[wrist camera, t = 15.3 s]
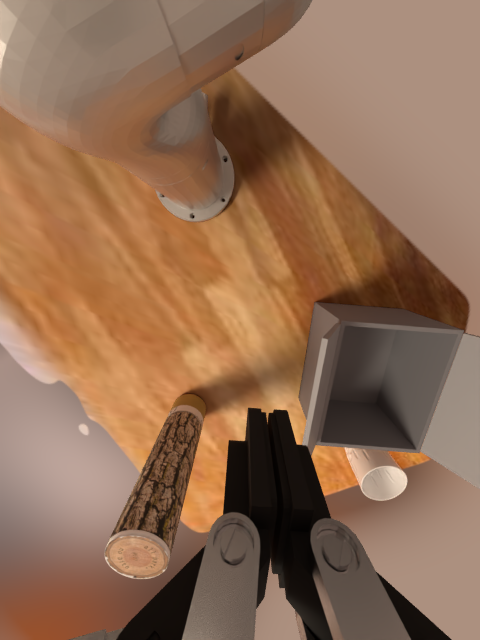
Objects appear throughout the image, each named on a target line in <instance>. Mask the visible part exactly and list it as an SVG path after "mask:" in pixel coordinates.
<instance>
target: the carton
mask: <svg viewBox="0 0 480 640" xmlns="http://www.w3.org/2000/svg"><path fill="white" fill-rule="evenodd" d="M336 323H339V324H341V326H340V331H339V336H338V340H337V345H336V350H335V355H334V360H333V365H332V369H331V374H330V379H329V384H328V389H327V394H326V398H325V403H324V408H323V413H322V418H321V423H320V427H319V432H318V437H317V442H316V445H321V446H334V447H347V448H359V449H372V450H385V451H397V452H410V453H420V450H421V447H422V445H423V442H424V439H425V436H426V434H427V431H428V428H429V425H430V423H431V420H432V417H433V415H434V412H435V409H436V406H437V404H438V401H439V398H440V395H441V393H442V390H443V387H444V384H445V382H446V379H447V376H448V374H449V371H450V368H451V365H452V363H453V360H454V357H455V354H456V352H457V349H458V346H459V344H460V341H461V338H462V335H463V333H464V330H461V329H459V328H456V327H453V326H450V325H447V324H444V323H442V322H439V321H436V320H433V319H430V318H428V317H425V316H422V315H419V314H416V313H413V312H411V311H408V310H405V309H397V308H384V307H372V306H359V305H346V304H334V303H321V302H315V304H314V309H313V315H312V321H311V327H310V333H309V339H308V345H307V351H306V357H305V363H304V369H303V375H302V380H301V386H300V392H299V401H300V404H301V406H302V409H303V412H304V414H305V417H306V420H307V417H308V411H309V406H310V400H311V395H312V390H313V384H314V379H315V374H316V368H317V363H318V357H319V352H320V347H321V341H322V338H323V337H324V335H325V334H326V333H327V332H328V331H329V330H330V329H331V328H332V327H333V326H334V325H335V324H336Z"/></svg>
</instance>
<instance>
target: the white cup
mask: <svg viewBox="0 0 480 640" xmlns="http://www.w3.org/2000/svg"><path fill="white" fill-rule="evenodd" d="M344 449H345V452H346V455H347V458H348V460H349V462H350V465H351V467H352V469H353V472H354V474H355V476H356V478H357V481H358V483H359V485H360V488H361V490H362V492H363V493H364V494H365V495H366V496H367V497H369V498H371V499H374V500H388V499H392V498H394V497H396V496H398V495H399V494H401V493H402V492H403V491H404V489H405V488H406V486H407V476H406V474H405V473H404V471H403V470H402V469H401V468H400V466H399V465H398V464H397V462H396V461H395V460H394V459H393V457H392V456H391V455H390V453H389V452H388V451H385V450H372V449H359V448H347V447H344Z"/></svg>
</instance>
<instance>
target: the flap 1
mask: <svg viewBox="0 0 480 640" xmlns="http://www.w3.org/2000/svg"><path fill="white" fill-rule="evenodd" d="M340 326H341V324H339V323H336V324H335V325H334V326H333V327H332V328H331V329H330V330H329V331H328V332H327V333H326V334H325V335H324V337H323V338H322V341H321V347H320V352H319V357H318V363H317V368H316V374H315V379H314V384H313V390H312V395H311V400H310V406H309V411H308V417H307V422H306V427H305V433H304V438H303V443H302V445H306V446H307V447H308V449H309V452H310V455H312V452H313V450H314V447H315V445H316V442H317V437H318V432H319V427H320V423H321V418H322V413H323V408H324V403H325V398H326V394H327V389H328V384H329V379H330V374H331V369H332V365H333V360H334V355H335V350H336V345H337V340H338V336H339V331H340Z"/></svg>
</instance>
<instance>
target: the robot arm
mask: <svg viewBox="0 0 480 640" xmlns="http://www.w3.org/2000/svg"><path fill="white" fill-rule="evenodd" d="M311 2H312V0H0V106H1V107H2V108H3V109H4V110H6V111H7V112H9V113H10V114H11V115H13V116H14V117H16V118H17V119H19V120H20V121H22V122H23V123H24V124H26V125H27V126H29V127H31V128H32V129H34V130H36V131H37V132H39V133H41V134H42V135H44V136H46V137H48V138H50V139H52V140H54V141H56V142H58V143H60V144H62V145H64V146H67V147H69V148H72V149H74V150H76V151H79V152H82V153H85V154H89V155H92V156H95V157H98V158H102V159H106V160H109V161H113V162H115V163H117V164H119V165H120V166H122V167H124V168H125V169H127V170H128V171H130V172H131V173H133V174H134V175H135V176H137V177H138V178H139V179H141V180H142V181H144V182H145V183H147V184H148V185H149V186H151V187H152V188H154V189H155V191H156V193H157V195H158V198H159V199H160V201H161V202H162V204H163V205H164V207H165V208H166V209H167V210H168V211H169V212H171V213H172V214H174V215H175V216H176V217H178V218H180V219H183V220H186V221H189V222H203V221H207V220H210V219H212V218H214V217H216V216H217V215H218V214H219V213H221V212H222V211H223V209H224V208H225V207H226V206H227V204H228V202H229V200H230V199H231V196H232V193H233V188H234V169H233V164H232V161H231V158H230V156H229V154H228V152H227V150H226V148H225V147H224V146H223V144H222V143H221V142H220V141H219V140H218V139H217V138H216V137H214V133H213V129H212V126H211V122H210V118H209V114H208V96H207V95H206V94H205V93H203V92H202V91H201V89H200V88H202V87H203V86H205V85H207V84H208V83H210V82H211V81H213V80H215V79H216V78H218V77H219V76H221V75H223V74H224V73H226V72H228V71H229V70H231V69H232V68H234V67H236V66H237V65H239V64H240V63H242V62H244V61H245V60H247V59H248V58H250V57H252V56H253V55H255V54H257V53H258V52H260V51H261V50H263V49H265V48H266V47H268V46H269V45H271V44H272V43H274V42H275V41H276V40H278V39H279V38H280V37H282V36H283V35H285V34H286V33H287V32H288V31H289V30H290V29H291V28H292V27H293V26H294V25H295V24H296V23H297V22H298V21H299V20H300V19H301V17H302V16H303V15H304V13H305V11H306V10H307V9H308V7H309V5H310V3H311ZM225 159H226V160H227V162H224V160H225ZM163 195H164V196H165V197H163ZM223 199H225V202H222V200H223ZM193 215H194V216H195V218H192V216H193ZM270 558H271V567H272V573H273V574H278V578H279V587H280V588H285V593H286V599H287V600H288V601H289V603H290V604H291V605H292V607H293V608H294V609H295V614H296V620H297V625H298V629H299V633H300V637H301V640H451V639H450V638H449V637H448V636H447V635H446V634H445V633H444V632H443V631H441V630H440V629H439V628H438V627H437V626H436V625H435V624H434V623H433V622H431V621H430V620H429V619H428V618H427V617H426V616H425V615H424V614H422V613H421V612H420V611H419V610H418V609H417V608H416V607H415V606H414V605H412V603H410V602H409V601H408V600H407V599H406V598H405V597H404V596H402V594H400V593H399V592H398V591H397V590H396V589H395V588H394V587H392V585H390V584H389V583H388V582H387V581H386V580H385V579H384V578H383V577H382V576H380V575H379V574H378V573H377V572H376V571H375V569H374V567H373V565H372V563H371V561H370V560H369V558H368V556H367V554H366V552H365V550H364V548H363V546H362V544H361V543H360V541H359V539H358V538H357V536H356V535H355V534H354V533H353V532H352V531H351V530H350V529H349V528H348V527H347V526H346V525H344V524H343V523H341V522H340V521H337V520H334V519H331V517H330V513H329V510H328V507H327V504H326V501H325V498H324V495H323V492H322V489H321V486H320V483H319V480H318V476H317V473H316V470H315V467H314V464H313V461H312V458H311V455H310V452H309V449H308V447H307V446H306V445H296V441H295V437H294V434H293V430H292V426H291V423H290V419H289V415H288V412H287V410H274V411H273V413H269V416H268V424H267V418H266V413H265V412H261V409H258V408H248V415H247V426H246V437H245V441H233V440H229V446H228V459H227V472H226V484H225V497H224V510H223V515H222V516H221V517H219V518H218V519H217V520H216V521H215V523H214V524H213V525H212V527H211V530H210V532H209V535H208V539H207V543H206V545H205V547H204V548H202V549H201V550H200V551H199V552H198V554H196V556H194V558H193V559H191V561H189V563H187V564H186V566H185V567H184V568H183V569H182V570H181V571H180V572H179V573H178V574H177V575H176V576H175V577H174V578H173V579H172V580H171V581H170V582H169V583H168V584H167V585H166V586H165V587H164V588H163V589H162V590H161V591H160V592H159V593H158V594H157V595H156V596H155V597H154V598H153V599H152V600H151V601H150V602H149V603H148V604H147V605H146V606H145V607H144V608H143V609H142V610H141V611H140V612H139V613H138V614H137V615H136V616H135V617H134V618H133V619H132V620H131V621H130V622H129V623H128V624H127V625H126V627H125V628H122V629H119V630H116V631H112V632H109V633H106V629H104V630H101V631H97V632H94V633H90V634H87V635H83V636H80V637H77V638H73V639H69V640H254V633H255V618H256V609H257V607H258V606H259V604H260V603H261V601H262V600H263V598H264V595H265V589H266V583H267V577H268V570H269V564H270Z"/></svg>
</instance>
